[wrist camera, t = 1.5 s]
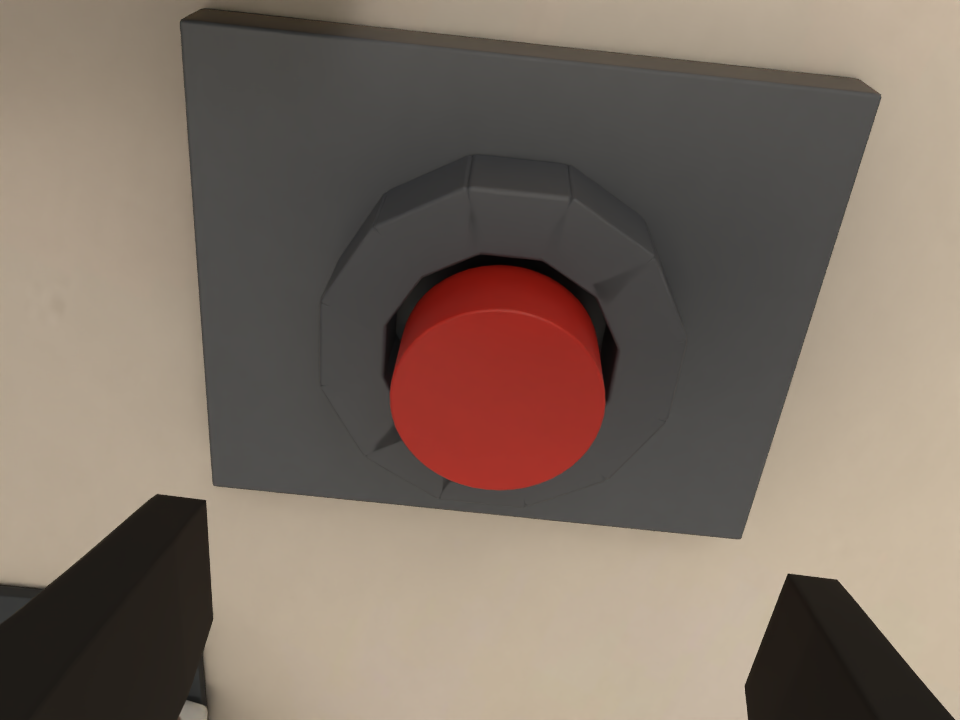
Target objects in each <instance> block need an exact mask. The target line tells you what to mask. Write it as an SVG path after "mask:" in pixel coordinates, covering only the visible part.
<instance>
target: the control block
mask: <svg viewBox="0 0 960 720" xmlns="http://www.w3.org/2000/svg"><path fill="white" fill-rule="evenodd" d="M180 31H181V46H182V60H183V74H184V88H185V102H186V116H187V130H188V144H189V158H190V172H191V186H192V200H193V214H194V228H195V242H196V256H197V270H198V284H199V298H200V312H201V326H202V340H203V354H204V368H205V382H206V396H207V410H208V425H209V439H210V453H211V467H212V481H213V485H214V486H218V487H228V488H238V489H248V490H258V491H268V492H277V493H287V494H297V495H307V496H317V497H327V498H336V499H346V500H356V501H366V502H376V503H386V504H395V505H405V506H415V507H425V508H435V509H445V510H454V511H464V512H474V513H484V514H494V515H504V516H513V517H523V518H533V519H543V520H553V521H563V522H572V523H582V524H592V525H602V526H612V527H622V528H631V529H641V530H651V531H661V532H671V533H681V534H690V535H700V536H710V537H720V538H730V539H741V538H742V534H743V531H744V528H745V525H746V522H747V519H748V516H749V512H750V509H751V506H752V503H753V500H754V497H755V493H756V490H757V487H758V484H759V481H760V478H761V475H762V471H763V468H764V465H765V462H766V459H767V456H768V453H769V449H770V446H771V443H772V440H773V437H774V434H775V431H776V427H777V424H778V421H779V418H780V415H781V412H782V409H783V405H784V402H785V399H786V396H787V393H788V390H789V386H790V383H791V380H792V377H793V374H794V371H795V368H796V364H797V361H798V358H799V355H800V352H801V349H802V346H803V342H804V339H805V336H806V333H807V330H808V327H809V324H810V320H811V317H812V314H813V311H814V308H815V305H816V301H817V298H818V295H819V292H820V289H821V286H822V283H823V279H824V276H825V273H826V270H827V267H828V264H829V261H830V257H831V254H832V251H833V248H834V245H835V242H836V239H837V235H838V232H839V229H840V226H841V223H842V220H843V217H844V213H845V210H846V207H847V204H848V201H849V198H850V194H851V191H852V188H853V185H854V182H855V179H856V176H857V172H858V169H859V166H860V163H861V160H862V157H863V154H864V150H865V147H866V144H867V141H868V138H869V135H870V132H871V128H872V125H873V122H874V119H875V116H876V113H877V110H878V106H879V103H880V100H881V94H879V93H878V92H877V91H875V90H874V89H872V88H871V87H869V86H868V85H867V84H865V83H864V82H862V81H861V80H859V79H855V78H845V77H836V76H827V75H817V74H808V73H799V72H789V71H780V70H771V69H761V68H752V67H743V66H733V65H724V64H715V63H705V62H696V61H687V60H678V59H668V58H659V57H650V56H640V55H631V54H622V53H612V52H603V51H594V50H584V49H575V48H566V47H556V46H547V45H538V44H528V43H519V42H510V41H500V40H491V39H482V38H472V37H463V36H454V35H444V34H435V33H426V32H416V31H407V30H398V29H388V28H379V27H370V26H360V25H351V24H342V23H332V22H323V21H314V20H304V19H295V18H286V17H277V16H267V15H258V14H249V13H239V12H230V11H221V10H211V9H201V10H199V11H197V12H195V13H193V14H191V15H189V16H187V17H185V18H183V19H181V21H180ZM489 265H510V266H516V267H522V268H526V269H530V270H533V271H536V272H539V273H541V274H543V275H546V276H548V277H550V278H552V279H553V280H555V281H557V282H558V283H560V284H561V285H563V286H564V287H565V288H566V289H568V290H569V291H570V292H571V293H572V294H573V295H574V296H575V297H576V298H577V299H578V300H579V301H580V303H581V304H582V305H583V307H584V308H585V309H586V311H587V313H588V315H589V316H590V318H591V320H592V323H593V326H594V328H595V331H596V336H597V341H598V347H599V354H600V360H601V367H602V374H603V381H604V387H605V402H606V404H605V412H604V417H603V421H602V425H601V428H600V430H599V432H598V434H597V437H596V438H595V440H594V442H593V443H592V445H591V446H590V448H589V449H588V450H587V452H586V453H585V454H584V455H583V456H582V457H581V458H580V459H579V460H578V461H577V462H576V463H575V464H574V465H573V466H572V467H570V468H569V469H567V470H566V471H564V472H563V473H561V474H560V475H558V476H556V477H554V478H552V479H550V480H548V481H545V482H543V483H540V484H537V485H533V486H530V487H526V488H520V489H514V490H485V489H479V488H473V487H469V486H465V485H461V484H458V483H456V482H453V481H451V480H448V479H446V478H444V477H442V476H440V475H438V474H437V473H435V472H434V471H432V470H431V469H429V468H428V467H426V466H425V465H424V464H423V463H422V462H420V461H419V460H418V459H417V458H416V457H415V456H414V455H413V454H412V453H411V451H410V450H409V449H408V448H407V446H406V445H405V443H404V442H403V441H402V439H401V437H400V435H399V433H398V431H397V429H396V427H395V424H394V421H393V418H392V414H391V408H390V386H391V380H392V376H393V372H394V368H395V364H396V359H397V355H398V351H399V347H400V343H401V339H402V335H403V332H404V328H405V325H406V322H407V320H408V318H409V316H410V313H411V312H412V310H413V309H414V307H415V305H416V304H417V303H418V301H419V300H420V299H421V298H422V297H423V296H424V295H425V293H427V292H428V291H429V290H430V289H431V288H432V287H434V286H435V285H436V284H438V283H439V282H441V281H442V280H444V279H445V278H448V277H450V276H452V275H454V274H456V273H458V272H461V271H464V270H467V269H470V268H475V267H480V266H489Z"/></svg>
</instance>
